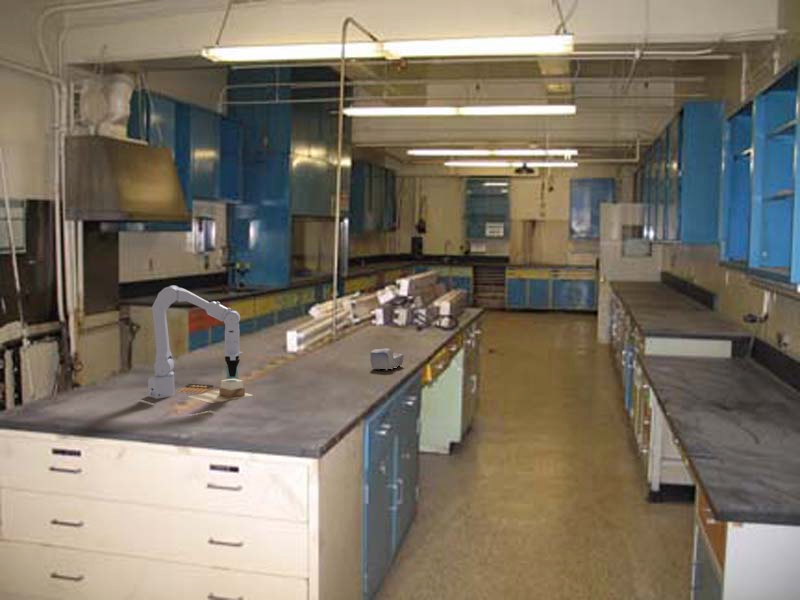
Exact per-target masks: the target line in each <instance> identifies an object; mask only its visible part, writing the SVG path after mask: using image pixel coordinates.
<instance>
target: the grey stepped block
mask: <svg viewBox="0 0 800 600" xmlns="http://www.w3.org/2000/svg"><path fill="white" fill-rule="evenodd" d="M369 354H370V355H369V356H370V358H369V359H370V366H371V369H372V368H374V369H373V370H380V369H386V370H385V371H388V370H387V369H391V368H394V367H398V366H400V365H401V366H402V364H403V362H404V356H405V354H403V353H397V352H393V350H392V349H390V348H387V347H385V348H380V349H379V348H378V349H377V348H376V349H375V348H374V349H373V350H371V352H370V353H369ZM398 368H399V367H398ZM391 370H392V369H391Z"/></svg>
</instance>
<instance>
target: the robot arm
mask: <svg viewBox="0 0 800 600" xmlns="http://www.w3.org/2000/svg"><path fill="white" fill-rule="evenodd" d="M176 302H178V303H180V302H188V303H190V304H192V305H194V306H195V307H196V306H197V307H199V308H201V309H203V310H205V313H206V314H207V315H208V316H210V317H212V318H214V319H216V320H218V321H220V322H223V323H224V352H223V353H224V359H225V362H226V366H228V370H229V376H230V377H235V375H236V370H237V366H238V367H239V363H240V361H241V359H239V358H240V355H243V351H240V350H241V349H240V347H241V346H240V336H241V335H240V334H241V333H240V323H239V322H240V321H241V315H240V313H239V312H238V311H237V310H235V309H232V308H230V307H226V306H225V305H222V304H221V302H220V301H210V302H209V301H208V300H206V299H203V298H202V297H200V296H198V295H197V294H195V293H193V292H191V291H190V290H187V289H185V288H183V287H179V286H177V285H173V284H172V285H169V286H167V287H164V288H163V289H161V291H159V292H158V293H157V297H156V299H155V300H154V302H153V304H152V307H151V310H152V319H153V329H154V330H153V331H154V339H155V349H156V354H155V358H154V359H155V362H154V364H153V370H154V376H151V377H149V378H148V381H147V384H148V386H147V388H148V389H147V396H148V397H149V398H153V399H156V400H157V399H163V398H171V397H175V373H174V369H175V366H176V362H175V359H174V358H173V356H172V355H173V354H172V351H171V348H170V338H169V330H168V328H169V327H168V319H167V317H168V316H167V309H168V308H170V306H171V305H172V304H173V303H176Z"/></svg>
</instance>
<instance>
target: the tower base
mask: <svg viewBox="0 0 800 600" xmlns="http://www.w3.org/2000/svg"><path fill="white" fill-rule="evenodd" d="M245 389H246V388H245V387H243V388H240V389H235V390H227V389H223V388H221V387H219V390H218V391H219V395H220V396H224V397H228V398H234V397H239V396H244V395H245V393H246V392H245V391H246V390H245Z"/></svg>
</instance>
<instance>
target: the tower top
mask: <svg viewBox="0 0 800 600" xmlns="http://www.w3.org/2000/svg"><path fill="white" fill-rule="evenodd" d="M220 382H221V384H220V386H221V387H220V388H223V389H227V390H235V389H240V388H244V380H242V379H238V378H236V379H228V378H226V379H223V380H221V381H220Z"/></svg>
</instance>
